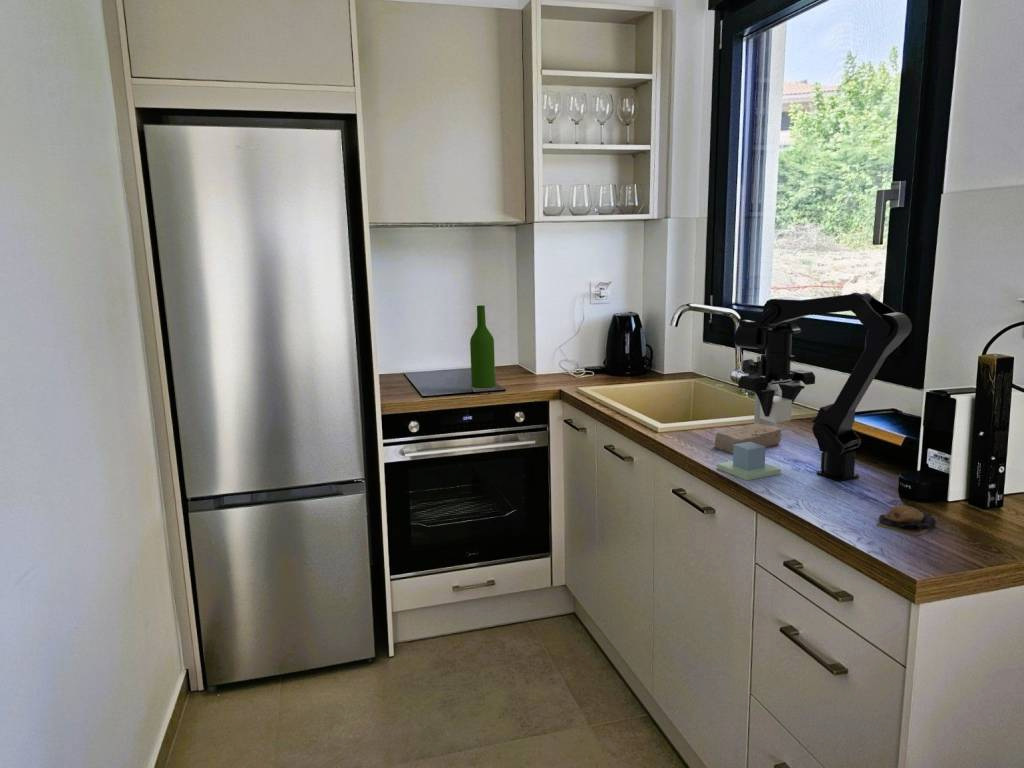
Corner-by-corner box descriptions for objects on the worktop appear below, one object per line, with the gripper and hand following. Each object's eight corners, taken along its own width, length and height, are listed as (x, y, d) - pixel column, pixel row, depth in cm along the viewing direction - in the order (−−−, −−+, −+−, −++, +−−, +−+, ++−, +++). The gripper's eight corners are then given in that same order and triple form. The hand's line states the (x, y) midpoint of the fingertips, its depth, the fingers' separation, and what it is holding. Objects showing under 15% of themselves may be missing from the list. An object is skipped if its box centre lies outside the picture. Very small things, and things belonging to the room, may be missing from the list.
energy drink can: (772, 426, 204) (774, 375, 201) (779, 432, 198) (781, 379, 195) (751, 427, 204) (752, 376, 201) (757, 432, 198) (759, 380, 195)
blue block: (764, 467, 163) (765, 446, 162) (747, 470, 161) (748, 449, 160) (749, 461, 168) (750, 441, 167) (732, 464, 166) (733, 444, 165)
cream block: (790, 420, 169) (791, 399, 168) (774, 422, 167) (775, 402, 166) (775, 416, 173) (776, 396, 172) (759, 418, 171) (760, 398, 170)
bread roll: (919, 540, 126) (921, 521, 125) (870, 527, 132) (872, 508, 132) (942, 524, 132) (944, 505, 132) (895, 512, 139) (896, 494, 138)
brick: (737, 455, 178) (737, 437, 177) (712, 447, 186) (713, 430, 185) (782, 445, 186) (782, 428, 185) (757, 438, 193) (757, 421, 193)
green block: (780, 473, 162) (780, 468, 162) (746, 480, 158) (746, 475, 158) (750, 462, 171) (750, 457, 171) (717, 468, 167) (717, 463, 167)
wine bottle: (500, 392, 264) (497, 305, 258) (480, 395, 259) (476, 307, 253) (487, 389, 271) (484, 304, 265) (467, 392, 266) (464, 305, 260)
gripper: (784, 344, 178) (781, 404, 181) (724, 350, 171) (722, 412, 174) (818, 349, 167) (815, 413, 170) (755, 356, 161) (753, 422, 164)
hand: (775, 415), depth 170 cm, fingers closed on cream block, 5 cm apart
